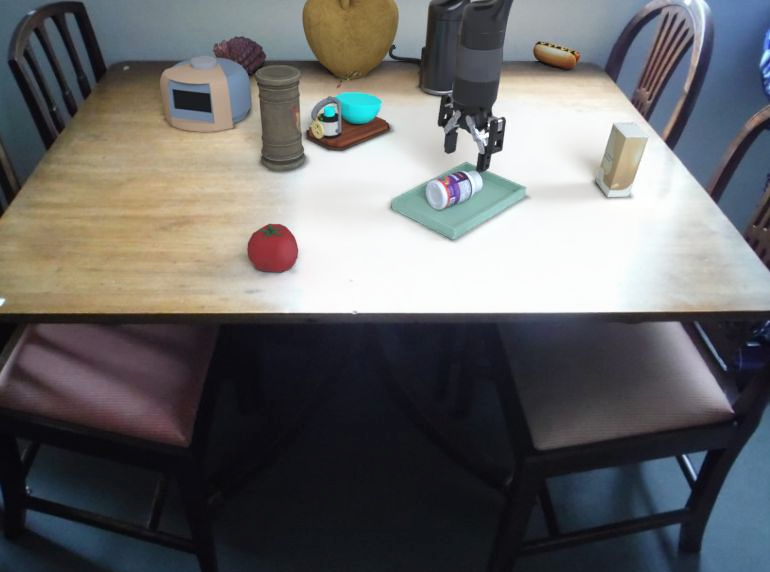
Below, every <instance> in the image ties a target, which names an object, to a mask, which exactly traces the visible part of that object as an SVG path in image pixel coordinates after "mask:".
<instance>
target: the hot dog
mask: <svg viewBox="0 0 770 572" xmlns="http://www.w3.org/2000/svg"><path fill="white" fill-rule="evenodd" d="M532 54H533V56H534V58H535V59H536V60H537V61H538V62H540V63H543V64H546V65H548V66H552V67H555V68H559V69H563V70H571V69H574V68H576V67H577V66H578V64H579V63H580V60H581V52H579V51H577V50H576V49H574V48H570V47H567V46H564V45H561V44H556V43H553V42H550V41H549V42H548V41H540V40H539V41H536V42H535V44H534V46H533V48H532Z"/></svg>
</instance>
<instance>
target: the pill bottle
mask: <svg viewBox="0 0 770 572" xmlns="http://www.w3.org/2000/svg"><path fill="white" fill-rule="evenodd" d="M481 188H482V178H481V176H480V175H479V173H478V172H476V171H470V172H465V171H458V172H455V173H452V174H450V175H447V176H444V177H441V178H438V179H435V180H432V181H430V182H429V183H428V184H427V187H426V197H427V200H428V202H429V204H430V205H431V206H432V207H433V208H434V209H436V210H441V209H444V208H447V207H450V206H452V205H455V204H458V203H460V202H463V201H466V200H468V199H470V198H471V197H472V196H473V194H474V193H476V192H479V191H480V190H481Z"/></svg>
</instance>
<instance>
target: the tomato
mask: <svg viewBox="0 0 770 572" xmlns="http://www.w3.org/2000/svg"><path fill="white" fill-rule="evenodd" d="M298 247H299V246H298V243H297V239H296V237H295V235H294V234H293V233H292V231H291V230H290V229H289V228H288V227H287V226H285V225H283V224H281V223H267V224H266V225H264V226H262V227H260V228H259V229H257V230H256V231H254V232H252V234H251V236H250V238H249V240H248V242H247V247H246V253H247V258H248V260H249V261H250V263H251V264H252V265H253V266H254V267H255V268H256V269H257V270H260V271H262V272H270V273H271V272H272V273H283V272H286V271H288V270H290V269H292V268H293V266H294V265H295V264H296V262H297V260H298V255H299V248H298Z"/></svg>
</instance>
